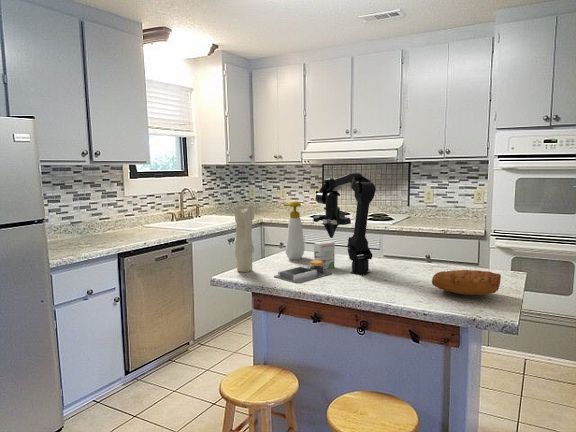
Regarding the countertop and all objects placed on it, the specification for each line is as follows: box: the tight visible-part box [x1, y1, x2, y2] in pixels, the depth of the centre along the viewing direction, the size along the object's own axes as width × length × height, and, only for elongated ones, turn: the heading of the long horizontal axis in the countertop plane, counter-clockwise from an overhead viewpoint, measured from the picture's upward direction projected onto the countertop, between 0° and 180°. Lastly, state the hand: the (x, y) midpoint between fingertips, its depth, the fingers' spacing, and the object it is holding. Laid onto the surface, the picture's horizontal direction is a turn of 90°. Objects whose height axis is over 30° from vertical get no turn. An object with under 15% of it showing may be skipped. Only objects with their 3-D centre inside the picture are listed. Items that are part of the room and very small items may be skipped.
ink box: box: [313, 240, 336, 270], centre depth 191 cm, size 8×5×12 cm, turn 123°
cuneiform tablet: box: [431, 269, 502, 296], centre depth 149 cm, size 22×17×8 cm
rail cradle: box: [273, 265, 333, 284], centre depth 178 cm, size 14×21×3 cm, turn 134°
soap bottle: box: [283, 201, 306, 261], centre depth 210 cm, size 13×10×29 cm
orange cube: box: [309, 260, 324, 268], centre depth 184 cm, size 4×4×4 cm
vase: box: [233, 203, 255, 273], centre depth 186 cm, size 9×8×30 cm
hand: (331, 237), depth 200 cm, fingers closed
